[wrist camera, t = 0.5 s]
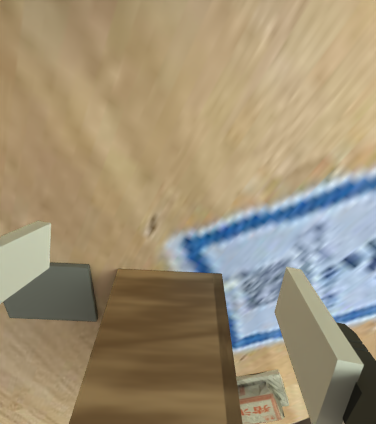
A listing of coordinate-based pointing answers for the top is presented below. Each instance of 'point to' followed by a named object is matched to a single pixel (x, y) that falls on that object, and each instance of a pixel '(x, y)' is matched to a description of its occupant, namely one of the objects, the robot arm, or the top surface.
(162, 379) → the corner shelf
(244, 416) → the packaged product
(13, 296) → the mat
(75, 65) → the top surface
